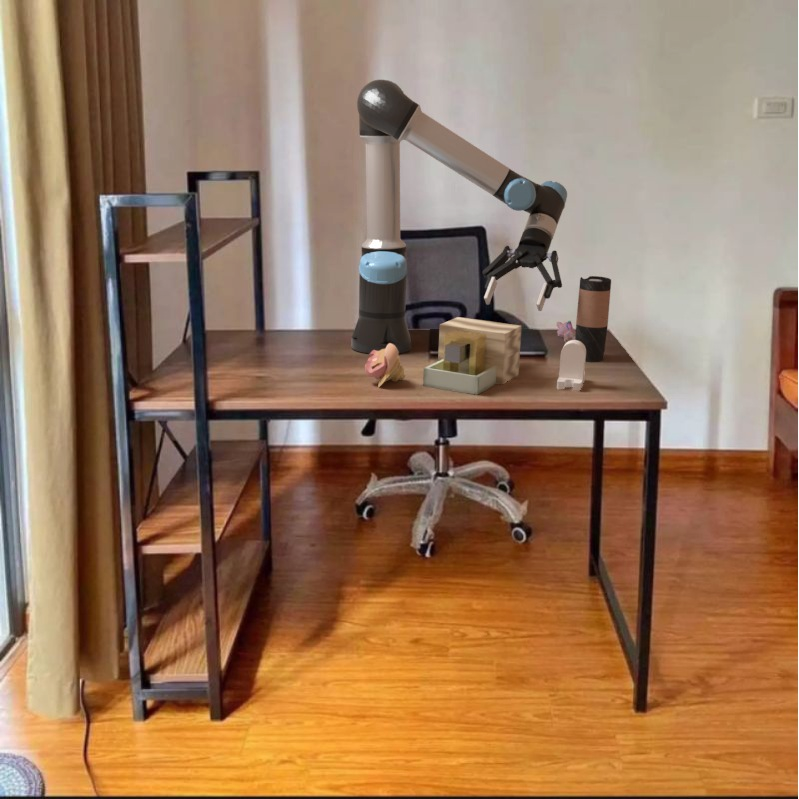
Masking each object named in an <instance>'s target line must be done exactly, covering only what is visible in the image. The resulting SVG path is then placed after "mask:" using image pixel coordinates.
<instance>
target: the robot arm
mask: <svg viewBox="0 0 799 799" xmlns="http://www.w3.org/2000/svg"><path fill="white" fill-rule="evenodd" d="M356 107H357V108H356V109H357V112H358V119H359V120H358V124H359V130H358V131H359V137H360V139H361V141H362V140H363V142H364V143H365V176H366V177H365V178H366V185H365V187H366V228H367V229H366V235H367V236H366V240H365V241H363V243H362V244H361V257H360V260H359V265H358V273H359V279H358V281H359V282H358V283H359V284H358V285H359V288H358V290H359V292H358V318H357V321H356V324H355V327H354V330H353V333H352V336H351V340H350V341H351V343H350V348H351V349H353V350H354V351H356V352H359V353H363V354H368V355H369V354H370V353H371V352H372V351H373V350H376V351H380V350H382V349H386V346H387V345H388V344H389V343H391V344H393V345H395V346H396V348H397V350H398V351H399V354H403V353H407V352H409V351H410V350H411V349H412V339H411V335H410V332H409V327H408V324H407V320H406V299H407V297H406V296H407V278H408V266H407V265H408V264H407V244H406V243H405V242H404V241H403V240H402V239H401V166H400V165H401V151H400V150H401V145H400V144H401V142H402V141H406V142H408V143H410V144H411V145H413V147H414V146H415V147H416V148H417V149H419V150H420V151H422V152H423V153H425V154H427V155H429V156H430V157H431V158H433V159H435V160H436V161H437V162H439V163H441V164H443V165H444V166H445V167H447V168H449V169H451V171H454V172H455V173H457V174H458V175H460V176H461V177H463V178H465V179H466V180H468V181H469V182H471V183H472V184H474V185H476V186H477V187H479V188H480V189H482V190H484V191H485V192H486V193H488V194H490V195H492V196H493V197H494V198H496V199H497V200H499V201H500V202H502V203H503V204H505V205H507V207H509V208H510V209H511V210H513V211H518V212H521V211H522V212H523V211H524V212H526V213H528V214H529V216H528V219H527V222H526V224H525V226H524V230H523V232H522V235H521V236H520V240H519V242H518V245H517V247H516V248H515V249H514V248H511V247H510V246H509V245H505V246H504V248H503V250H502V252H501V253H499V255H498V256H497V257H496V258H494V260H492V261H491V262H490V264H489V265H487V266H486V267H485V268H484V269H483V271H482V274H483V278H484V279H485V280H486V283H485V285H484V289H485V294H484V296H483V299H484V301H485V302H484V303H485V304H486V305H487V306H489V305H490V304H491V300H492V298H493V295H494V292H495V290H496V288H497V284H498V282H497V281H498V280H499V279H501V278H502V277H504V276H506V275H508V274H509V273H510V272H512V271H513V270H516V269H518V268H520V267H521V268H529V269H534V268H537V270H538V271H539V272H540V274H541V276H542V278H543V280H544V281H545V282H543V284H542V287H541V290H540V292H539V296H538V298H537V301H536V307H537V310H538V311H539V312H542V311H543V307H544V305H545V302H546V300H549V299H550V298H551V296H552V293H553V290H554V289H555V288H558V289H560V288H562V287H563V284H562V279H561V274H560V270H559V269H560V268H559V265H558V263H559V255H558V252H557V250H552V251H551V252H549V249H550V247H551V244H552V240H553V239H554V236H555V233H556V229H557V227H558V225H559V222H560V220H561V216H562V213H563V211H564V209H565V207H566V202H567V198H568V191H567V189H566V188H565V186H564V185H563V184H561V183H560V182H558V181H552V180H548V181H547V180H546V181H544V182H543V183H541V184H538V183H536V182H534V181H532V180H531V179H529V178H527V177H525V176H523V175H521V174H519V173H518V172H515V170H513V169H511V168H510V167H508V166H506V165H505V164H503V163H501V162H500V161H499V160H498V159H495V158H494V157H493V156H491V155H489V154H488V153H487V152H485V151H483V150H482V149H480V148H478V147H477V146H475V145H474V144H472V143H471V142H469V141H468V140H466V139H465V138H463V137H461V136H460V135H459V134H457V133H455V132H453V131H452V130H451V129H449V128H448V127H447V126H445V125H443V124H441V123H440V122H438V121H437V120H436V119H434V118H433V117H431V116H429V115H428V114H426V113H425V112H423V111H422V108H421V105H420V104H418V103H417V102H415V101H413V99H411V98H410V97H408V95H406V93H404V91H403V90H402V88H401V87H400V86H399V85H398V84H397V83H396V82H393V81H391V80H387V79H376V80H372V81H370V82H368V83H367V84H365V85H364V86H363V87H362V88H361V90H360V92H359V94H358V96H357V101H356ZM547 259H548V261H549V262H551V267H552V270H553V271H552V272H553V274H554V275H553V276H554V279H553V278H552V277H551V275H550V274H549V272H548V270H547V268H546V267H545V265H544V262H546V260H547Z"/></svg>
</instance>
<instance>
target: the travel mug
mask: <svg viewBox="0 0 799 799" xmlns="http://www.w3.org/2000/svg"><path fill="white" fill-rule="evenodd" d="M611 286H612V279H611V278H610V277H605V276H596V275H594V276H593V275H590V276H588V277H587V278H583V277H582V276H581V277H580V278H579V287H578V288H579V289H578V299H577V300H578V302H577V309H576V310H577V312H576V322H575V331H576V336H575V340H578V341H580V342H582V343H583V344H584V346H585V348H586V360H585V362H588V363H596V362H597V363H598V362H602V361H604V358H605V350H606V341H607V333H608V326H609V314H610V304H611V302H610V301H611V300H610V299H611Z"/></svg>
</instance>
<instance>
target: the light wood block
mask: <svg viewBox="0 0 799 799" xmlns="http://www.w3.org/2000/svg"><path fill="white" fill-rule="evenodd" d="M453 330H457V331H464V332H471V333H478V334H485V335H486V342H485V360H484V371H486V370H487V369H489V368H491V367H493V366H496V367H497V373H496V384H495V385H499V384H501V385H502V384H503V385H505V384H506V383H508V382H509V381H511V380H513V379H515V378H516V377H518V376H519V372H520V357H521V341H522V325H519V324H512V323H511V324H510V323H505V322H504V323H503V322H497V321H491V320H483V319H475V318H467V317H459V316H456V317H454V318H452V319H450V320H448V321H445V322H443V323H440V324H439V330H438V355H437V356H438V357H437V362H438V361H440V360H442V359H444V340H445V334H446V333H449V332H451V331H453ZM457 373H463V374H469V359H467V360H465V361H463V362H461V363H459V369H458V372H457ZM507 381H508V382H507Z"/></svg>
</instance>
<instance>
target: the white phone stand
mask: <svg viewBox="0 0 799 799" xmlns="http://www.w3.org/2000/svg"><path fill="white" fill-rule="evenodd" d="M585 360H586V348H585V346H584V344H583V343H582V342H580V341H578V340H571V341H568V342H567V343H564V345H563V347H562V349H561V351H560V359H559V371H558V372H559V373H558V378H557V380H556V390H559V389H564V390H565V389H566V388H570V387H573V388H572V391H573V390H581V391H582V389H581V388H583V386H584V384H583V383H585V381H586V379H585V378H586V372H585V370H586V361H585ZM565 387H566V388H565Z"/></svg>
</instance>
